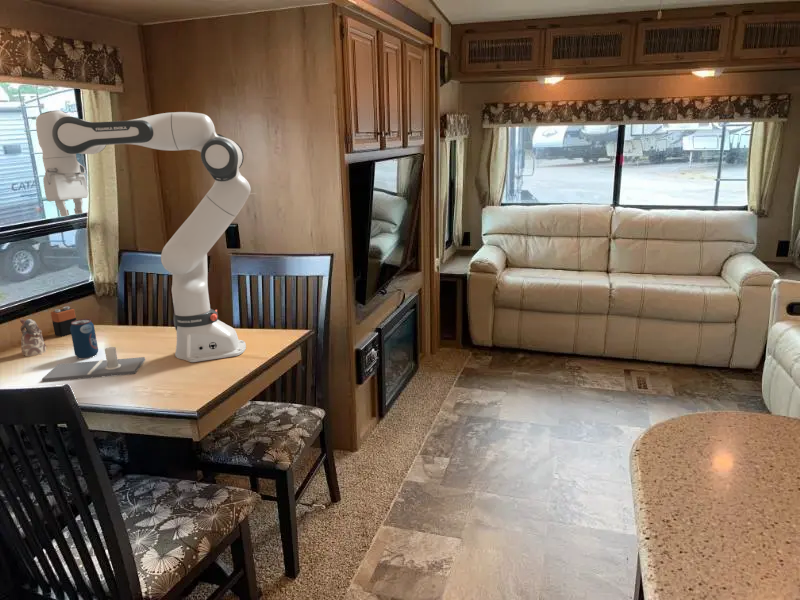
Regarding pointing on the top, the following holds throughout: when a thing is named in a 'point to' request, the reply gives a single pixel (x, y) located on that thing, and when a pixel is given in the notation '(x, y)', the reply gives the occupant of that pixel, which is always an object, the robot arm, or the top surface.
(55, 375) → the board
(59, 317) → the battery
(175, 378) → the top surface
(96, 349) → the soda can
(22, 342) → the figurine
